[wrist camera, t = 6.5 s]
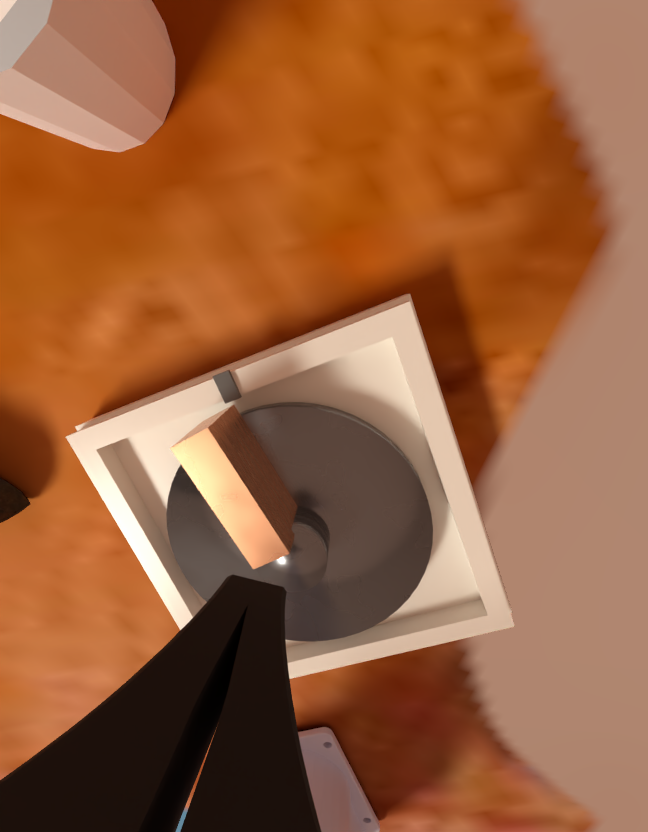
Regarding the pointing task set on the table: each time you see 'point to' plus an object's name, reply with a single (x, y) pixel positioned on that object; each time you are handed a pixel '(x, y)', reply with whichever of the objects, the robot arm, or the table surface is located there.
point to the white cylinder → (86, 69)
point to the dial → (301, 514)
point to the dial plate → (342, 389)
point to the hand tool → (11, 501)
